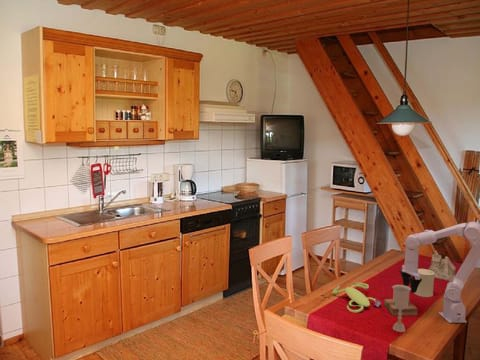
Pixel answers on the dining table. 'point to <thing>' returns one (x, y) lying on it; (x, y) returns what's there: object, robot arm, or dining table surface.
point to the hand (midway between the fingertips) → (409, 289)
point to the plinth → (394, 311)
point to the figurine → (357, 296)
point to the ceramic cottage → (442, 267)
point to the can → (425, 283)
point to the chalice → (400, 303)
